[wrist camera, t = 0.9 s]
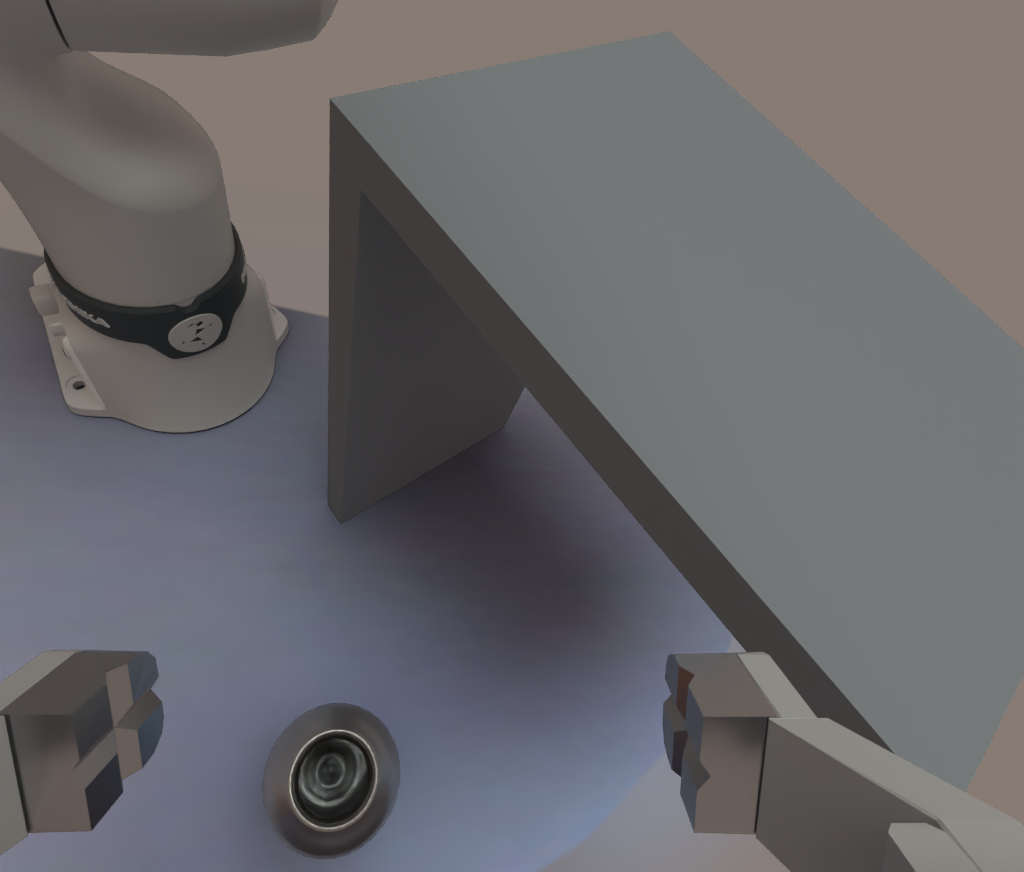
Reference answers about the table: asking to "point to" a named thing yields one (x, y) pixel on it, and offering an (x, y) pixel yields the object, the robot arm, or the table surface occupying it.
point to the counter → (693, 367)
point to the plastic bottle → (331, 781)
